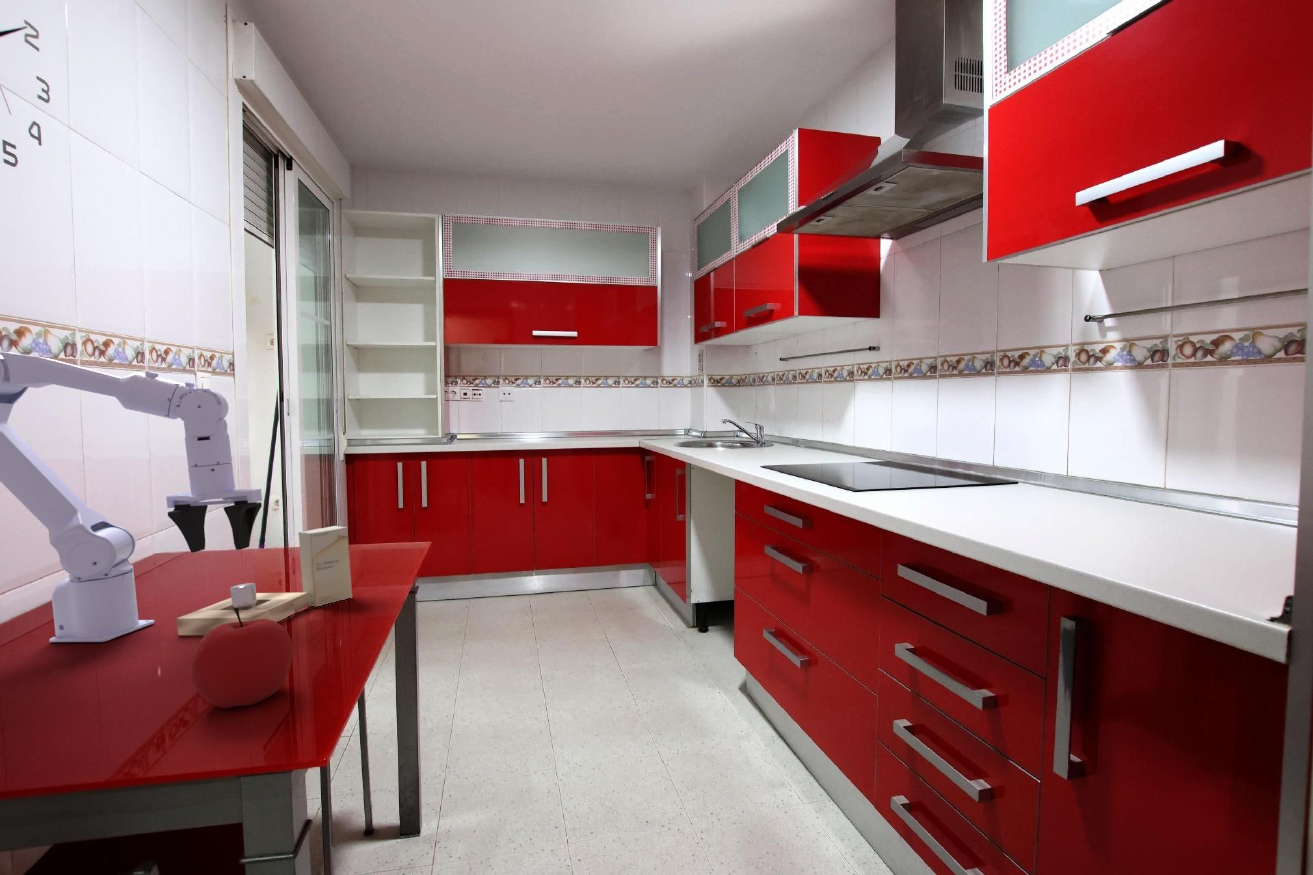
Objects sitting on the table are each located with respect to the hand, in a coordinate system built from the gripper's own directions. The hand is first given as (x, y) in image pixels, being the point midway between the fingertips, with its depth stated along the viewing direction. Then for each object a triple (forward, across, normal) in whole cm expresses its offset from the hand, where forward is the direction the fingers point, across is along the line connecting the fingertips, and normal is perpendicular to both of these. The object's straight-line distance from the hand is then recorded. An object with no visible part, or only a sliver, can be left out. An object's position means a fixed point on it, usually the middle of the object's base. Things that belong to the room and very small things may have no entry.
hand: (220, 549), depth 100 cm
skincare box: (+11, +14, +5) cm, 18 cm away
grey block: (+10, +6, -4) cm, 13 cm away
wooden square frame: (+10, +6, -4) cm, 13 cm away
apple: (+11, +27, -30) cm, 42 cm away
